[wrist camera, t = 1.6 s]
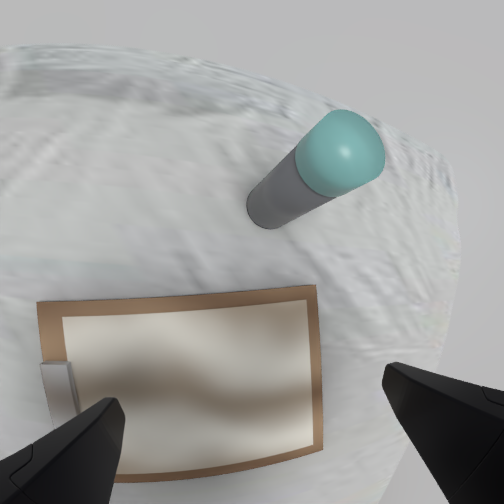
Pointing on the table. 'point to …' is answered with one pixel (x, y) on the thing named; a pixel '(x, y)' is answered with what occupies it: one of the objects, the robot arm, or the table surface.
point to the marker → (319, 169)
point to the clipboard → (192, 377)
